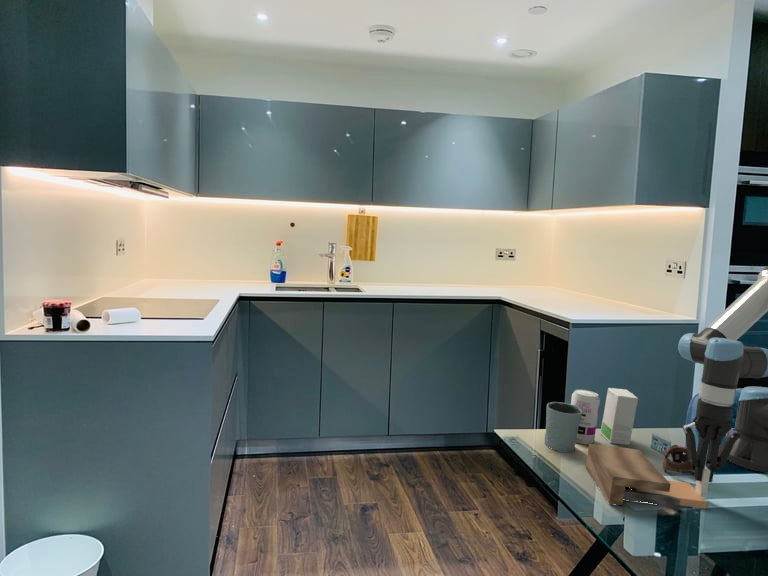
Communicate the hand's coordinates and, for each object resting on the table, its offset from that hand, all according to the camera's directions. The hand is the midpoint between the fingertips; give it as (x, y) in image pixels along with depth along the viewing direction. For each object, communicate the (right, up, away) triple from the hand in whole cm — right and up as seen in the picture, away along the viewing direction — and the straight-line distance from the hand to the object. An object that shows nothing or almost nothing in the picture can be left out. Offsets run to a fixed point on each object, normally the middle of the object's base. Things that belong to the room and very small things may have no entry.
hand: (700, 493), depth 136 cm
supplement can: (-18, +4, +34) cm, 38 cm away
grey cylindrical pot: (-27, +4, +27) cm, 38 cm away
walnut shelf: (-17, 0, +2) cm, 17 cm away
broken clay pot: (+4, 0, +16) cm, 17 cm away
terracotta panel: (-9, -1, +1) cm, 9 cm away
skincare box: (-6, +3, +37) cm, 37 cm away
